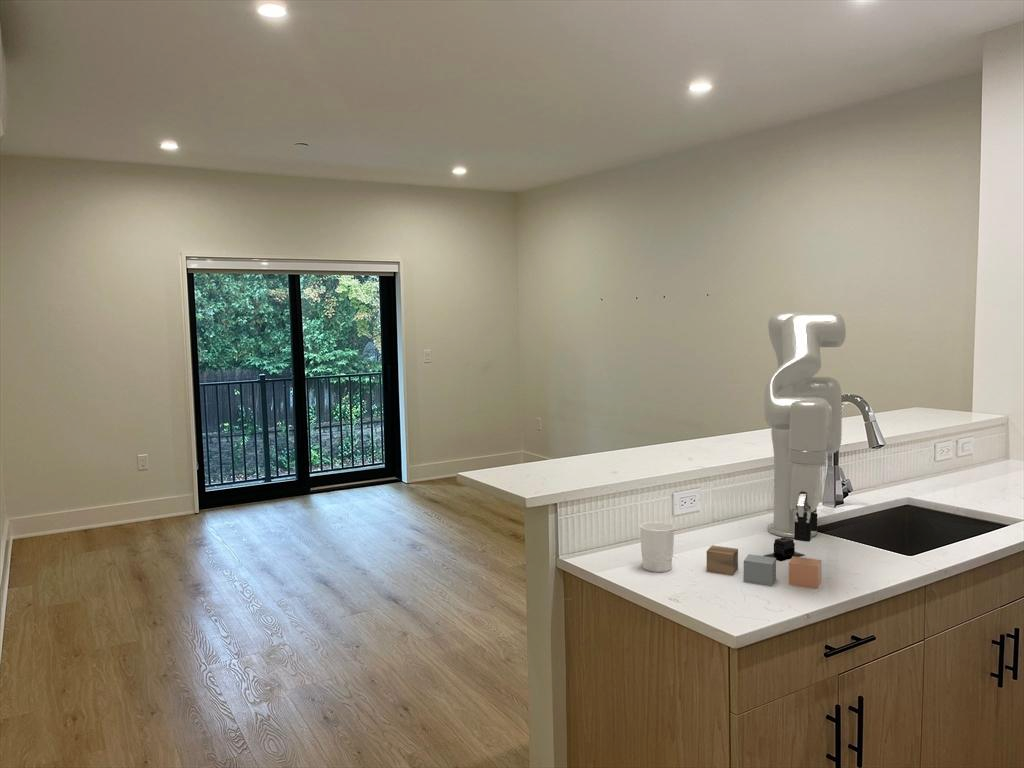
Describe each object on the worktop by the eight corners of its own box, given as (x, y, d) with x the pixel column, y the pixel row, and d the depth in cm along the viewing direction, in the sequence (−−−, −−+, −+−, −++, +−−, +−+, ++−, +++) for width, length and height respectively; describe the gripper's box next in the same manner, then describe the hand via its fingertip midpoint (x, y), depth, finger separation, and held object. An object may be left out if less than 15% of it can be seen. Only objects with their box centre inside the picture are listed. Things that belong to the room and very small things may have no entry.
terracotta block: (792, 577, 166) (792, 556, 166) (820, 582, 163) (821, 560, 163) (788, 584, 162) (788, 562, 161) (817, 589, 159) (818, 566, 158)
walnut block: (712, 565, 175) (712, 545, 175) (737, 569, 172) (738, 548, 172) (706, 572, 171) (706, 551, 170) (732, 576, 168) (733, 554, 167)
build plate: (788, 549, 188) (789, 532, 188) (813, 557, 182) (813, 539, 181) (755, 558, 182) (755, 540, 181) (779, 566, 176) (779, 547, 175)
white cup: (669, 561, 178) (669, 521, 177) (677, 572, 170) (678, 530, 169) (637, 562, 178) (637, 522, 177) (644, 573, 170) (644, 531, 169)
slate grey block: (748, 575, 168) (748, 554, 168) (775, 579, 165) (776, 557, 165) (743, 582, 164) (743, 560, 163) (771, 586, 161) (771, 564, 160)
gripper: (795, 451, 169) (794, 524, 170) (782, 461, 154) (780, 542, 155) (830, 453, 166) (829, 528, 167) (820, 464, 151) (819, 547, 152)
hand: (806, 535), depth 161 cm, fingers open, 9 cm apart
